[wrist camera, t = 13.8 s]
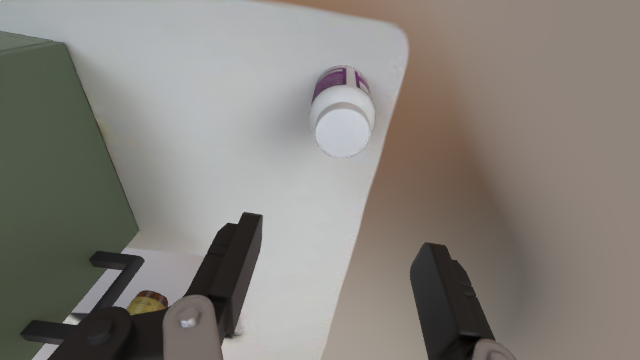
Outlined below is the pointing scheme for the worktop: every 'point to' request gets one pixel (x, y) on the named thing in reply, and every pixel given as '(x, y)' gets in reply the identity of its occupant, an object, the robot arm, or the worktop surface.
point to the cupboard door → (54, 202)
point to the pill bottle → (342, 112)
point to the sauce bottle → (147, 303)
